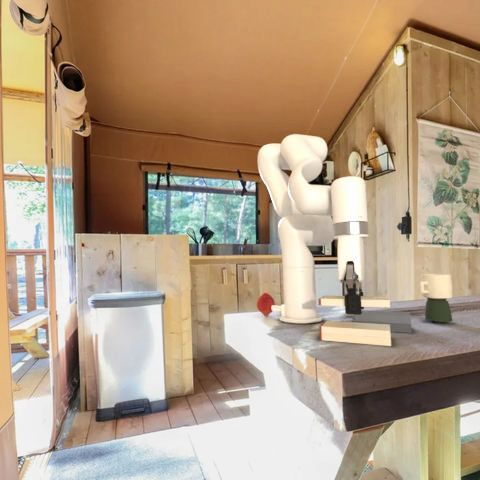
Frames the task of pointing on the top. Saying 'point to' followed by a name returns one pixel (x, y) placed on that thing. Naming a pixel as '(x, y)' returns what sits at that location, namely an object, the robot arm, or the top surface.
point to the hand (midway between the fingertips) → (355, 310)
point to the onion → (265, 303)
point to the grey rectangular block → (386, 319)
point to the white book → (365, 301)
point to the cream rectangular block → (355, 332)
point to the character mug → (437, 296)
